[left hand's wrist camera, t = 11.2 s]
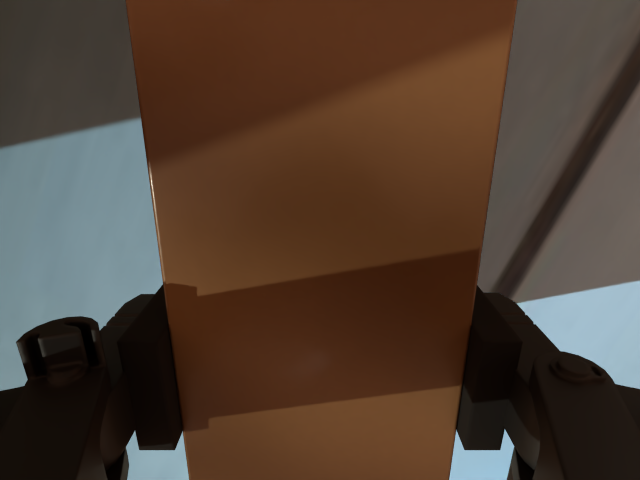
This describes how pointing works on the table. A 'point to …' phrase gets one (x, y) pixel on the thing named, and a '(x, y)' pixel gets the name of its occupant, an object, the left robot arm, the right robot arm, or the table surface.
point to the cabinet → (320, 223)
